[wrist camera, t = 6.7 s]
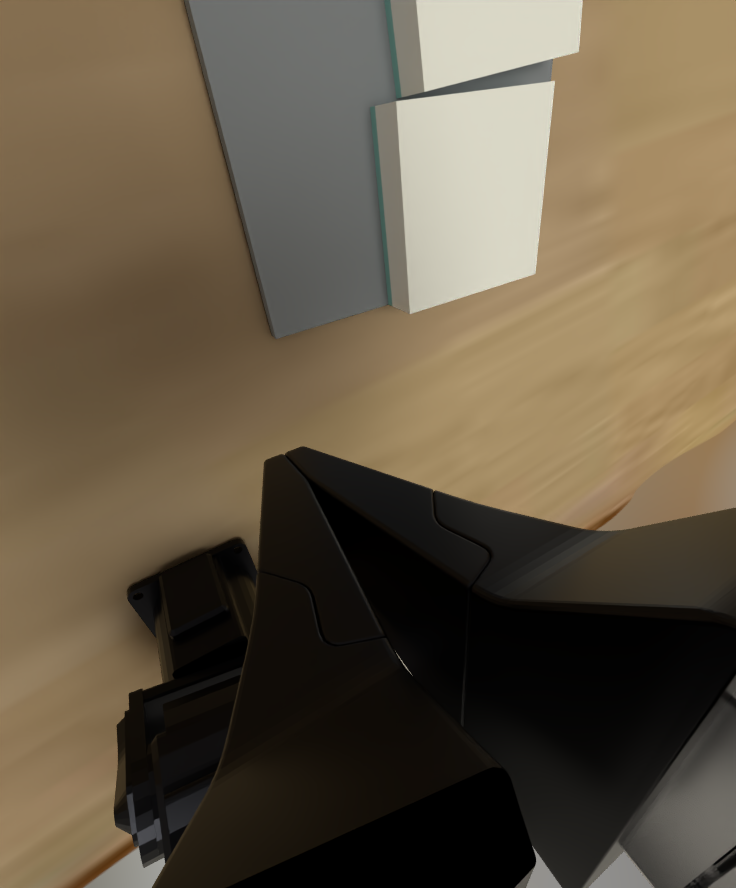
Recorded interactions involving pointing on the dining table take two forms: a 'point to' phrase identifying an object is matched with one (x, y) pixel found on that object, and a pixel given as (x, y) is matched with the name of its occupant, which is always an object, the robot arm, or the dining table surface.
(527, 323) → the dining table surface
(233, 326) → the dining table surface
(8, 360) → the dining table surface
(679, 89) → the dining table surface
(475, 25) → the flat tile
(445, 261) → the tile
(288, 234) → the mat
